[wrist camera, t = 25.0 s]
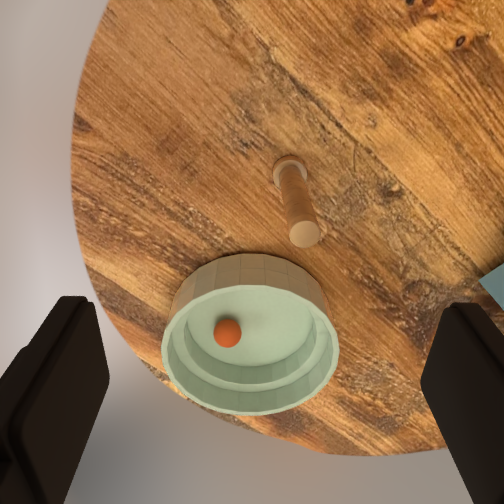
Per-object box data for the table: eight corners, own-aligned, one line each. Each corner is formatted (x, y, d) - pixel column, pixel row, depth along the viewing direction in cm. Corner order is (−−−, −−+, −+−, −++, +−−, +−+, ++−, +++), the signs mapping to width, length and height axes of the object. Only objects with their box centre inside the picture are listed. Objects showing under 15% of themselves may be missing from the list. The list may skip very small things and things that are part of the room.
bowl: (177, 372, 48) (168, 414, 43) (165, 248, 40) (152, 283, 35) (319, 374, 49) (327, 416, 44) (338, 252, 40) (351, 286, 35)
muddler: (271, 186, 37) (279, 254, 26) (273, 154, 35) (283, 212, 25) (303, 188, 37) (325, 256, 26) (307, 156, 35) (332, 214, 25)
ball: (242, 331, 41) (248, 321, 44) (215, 319, 41) (222, 311, 44) (232, 356, 41) (238, 345, 44) (205, 345, 42) (213, 334, 45)
